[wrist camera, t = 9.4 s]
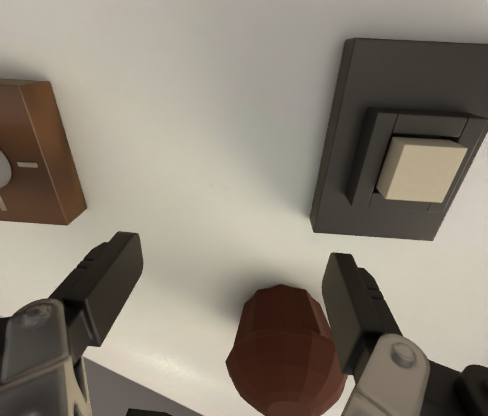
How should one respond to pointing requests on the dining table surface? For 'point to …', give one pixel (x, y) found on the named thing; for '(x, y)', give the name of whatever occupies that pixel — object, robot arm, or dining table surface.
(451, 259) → the dining table surface
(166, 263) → the dining table surface
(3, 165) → the volume knob
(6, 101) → the panel
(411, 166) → the key
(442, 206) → the tiered pedestal stack
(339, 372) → the muffin
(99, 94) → the dining table surface
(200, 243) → the dining table surface
